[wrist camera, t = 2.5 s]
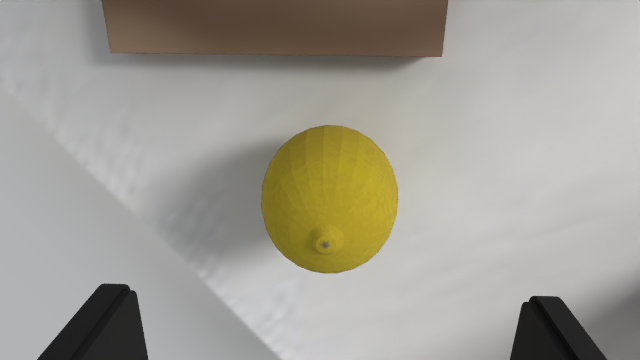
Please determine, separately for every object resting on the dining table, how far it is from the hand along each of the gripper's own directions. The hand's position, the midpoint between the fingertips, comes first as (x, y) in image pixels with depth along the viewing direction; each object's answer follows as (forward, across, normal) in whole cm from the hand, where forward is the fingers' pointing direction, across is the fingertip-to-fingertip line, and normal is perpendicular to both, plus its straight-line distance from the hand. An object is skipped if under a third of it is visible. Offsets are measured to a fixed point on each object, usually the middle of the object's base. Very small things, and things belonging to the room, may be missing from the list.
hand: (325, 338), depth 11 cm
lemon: (+12, 0, 0) cm, 12 cm away
